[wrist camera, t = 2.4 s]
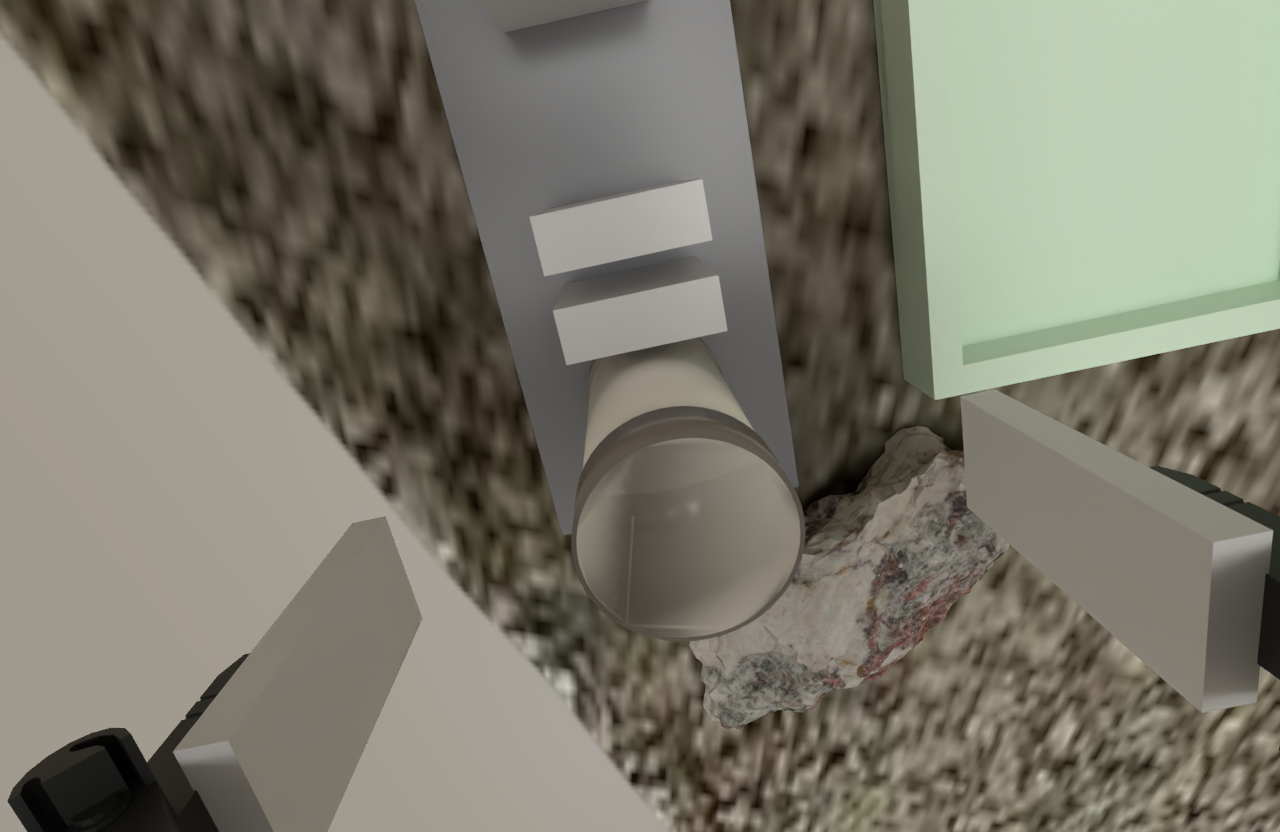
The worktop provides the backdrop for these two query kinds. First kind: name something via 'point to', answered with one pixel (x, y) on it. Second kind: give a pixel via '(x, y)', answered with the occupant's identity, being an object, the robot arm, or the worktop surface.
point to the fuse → (679, 499)
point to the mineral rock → (857, 586)
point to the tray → (1077, 181)
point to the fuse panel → (610, 198)
